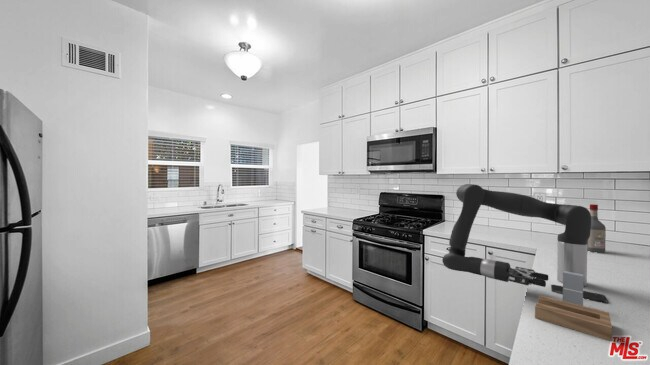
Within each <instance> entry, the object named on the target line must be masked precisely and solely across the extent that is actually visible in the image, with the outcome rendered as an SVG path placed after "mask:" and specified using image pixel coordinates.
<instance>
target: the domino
mask: <svg viewBox="0 0 650 365" xmlns="http://www.w3.org/2000/svg"><path fill="white" fill-rule="evenodd" d="M562 286H563V294H562V301H565V302H569V303H573V304H577V305H581V306H584V299H583V291H584V286H583V274H577V273H572V272H567V271H563V282H562Z"/></svg>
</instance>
